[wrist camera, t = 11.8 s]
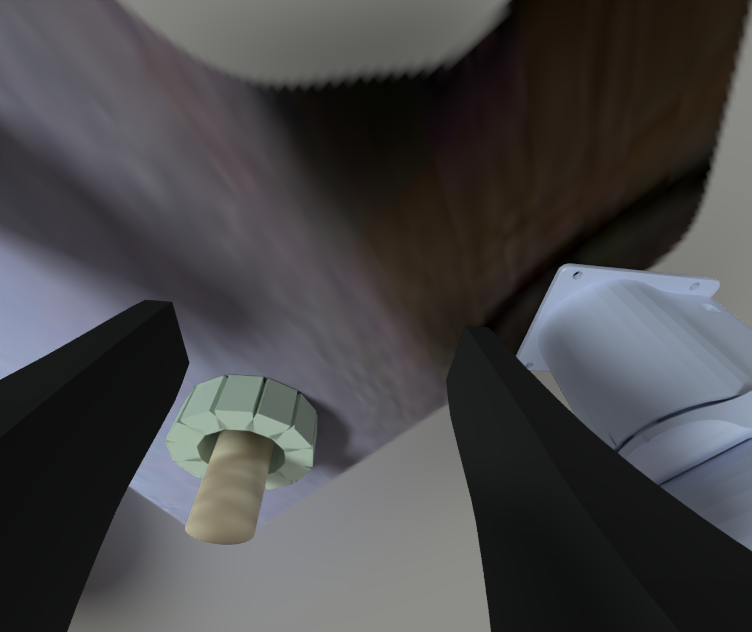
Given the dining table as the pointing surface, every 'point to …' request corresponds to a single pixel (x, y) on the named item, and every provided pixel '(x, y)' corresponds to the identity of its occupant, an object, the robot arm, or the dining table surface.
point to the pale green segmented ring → (246, 425)
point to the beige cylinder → (231, 489)
